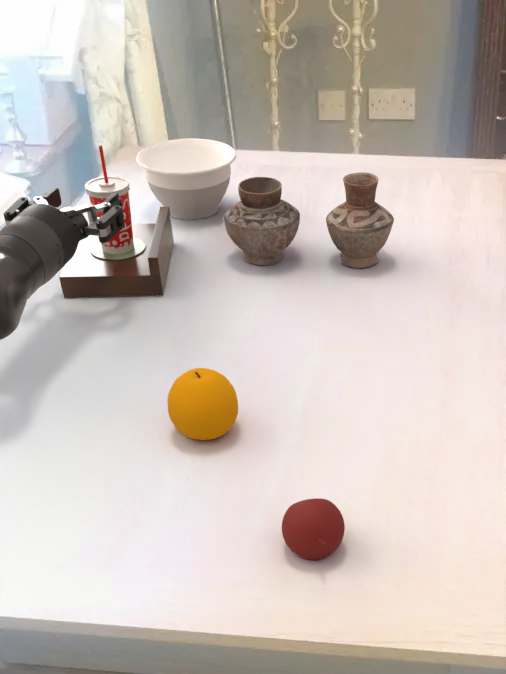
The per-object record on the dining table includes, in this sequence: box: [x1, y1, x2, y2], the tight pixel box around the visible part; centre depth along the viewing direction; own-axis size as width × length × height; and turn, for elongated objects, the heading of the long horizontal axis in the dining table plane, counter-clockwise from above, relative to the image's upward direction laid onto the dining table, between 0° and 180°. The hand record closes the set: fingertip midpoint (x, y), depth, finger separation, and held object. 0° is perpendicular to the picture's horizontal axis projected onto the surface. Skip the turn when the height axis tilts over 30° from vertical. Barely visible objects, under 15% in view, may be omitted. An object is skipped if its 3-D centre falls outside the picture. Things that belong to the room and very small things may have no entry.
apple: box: [167, 367, 239, 441], centre depth 101 cm, size 8×8×8 cm
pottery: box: [223, 171, 395, 269], centre depth 131 cm, size 11×25×12 cm, turn 86°
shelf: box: [58, 206, 175, 298], centre depth 131 cm, size 14×18×6 cm
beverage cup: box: [84, 144, 134, 254], centre depth 126 cm, size 6×6×14 cm
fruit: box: [281, 497, 346, 561], centre depth 86 cm, size 6×6×8 cm
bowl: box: [135, 137, 237, 221], centre depth 146 cm, size 16×16×8 cm
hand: (87, 197), depth 120 cm, fingers open, 8 cm apart
